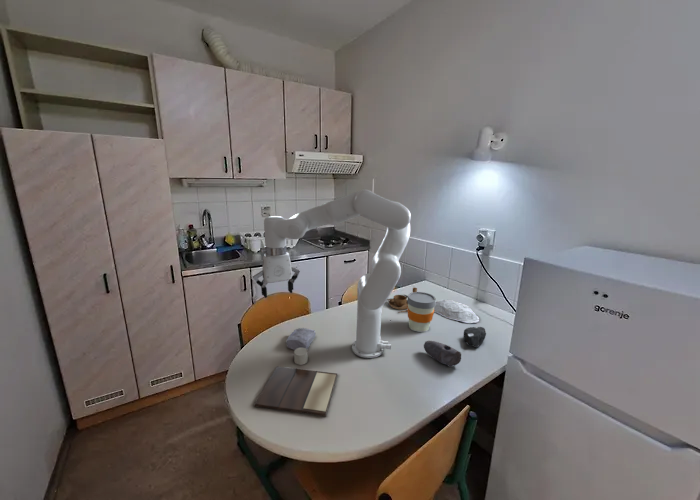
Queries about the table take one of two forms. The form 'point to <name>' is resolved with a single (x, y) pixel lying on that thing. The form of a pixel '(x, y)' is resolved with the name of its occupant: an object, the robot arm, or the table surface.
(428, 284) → the table surface
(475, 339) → the mineral
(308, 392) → the board
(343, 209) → the robot arm
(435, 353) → the perforated stone tool
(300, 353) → the white short cylinder
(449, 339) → the table surface
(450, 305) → the white rough oval lump
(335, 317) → the table surface
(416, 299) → the reusable coffee cup
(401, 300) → the place setting
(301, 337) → the block
